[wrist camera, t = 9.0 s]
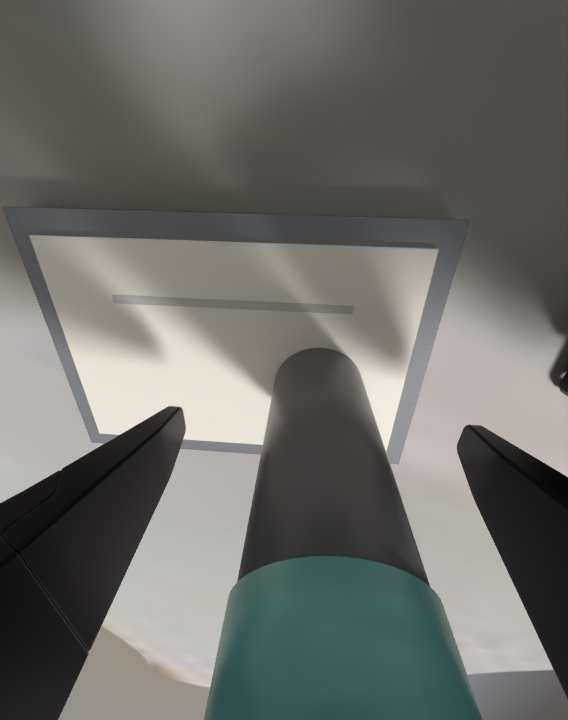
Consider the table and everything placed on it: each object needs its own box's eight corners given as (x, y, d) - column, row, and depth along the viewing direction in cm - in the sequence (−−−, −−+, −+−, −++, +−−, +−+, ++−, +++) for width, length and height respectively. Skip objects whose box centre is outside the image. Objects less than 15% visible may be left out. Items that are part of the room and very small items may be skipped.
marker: (372, 347, 10) (611, 852, 2) (357, 425, 12) (463, 876, 4) (272, 342, 11) (156, 795, 2) (271, 420, 12) (201, 840, 4)
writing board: (454, 219, 9) (473, 220, 8) (392, 448, 14) (399, 468, 13) (29, 207, 10) (-5, 206, 9) (104, 428, 15) (88, 445, 14)
